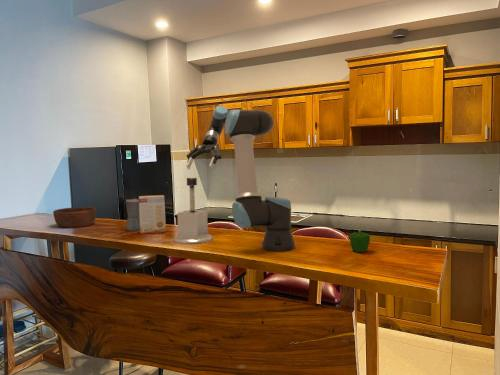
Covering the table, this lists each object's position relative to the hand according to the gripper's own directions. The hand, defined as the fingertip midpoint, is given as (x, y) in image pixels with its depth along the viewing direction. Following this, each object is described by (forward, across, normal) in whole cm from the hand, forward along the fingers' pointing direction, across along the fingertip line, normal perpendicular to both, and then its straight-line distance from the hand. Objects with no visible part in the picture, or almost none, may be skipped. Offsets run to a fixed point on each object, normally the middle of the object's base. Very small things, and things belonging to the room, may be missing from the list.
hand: (199, 167), depth 195 cm
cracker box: (+26, +31, -26) cm, 48 cm away
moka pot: (+23, +47, -29) cm, 60 cm away
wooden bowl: (+22, +93, -30) cm, 100 cm away
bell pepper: (+32, -83, -20) cm, 91 cm away
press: (+32, -1, -19) cm, 38 cm away
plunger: (+25, -1, -12) cm, 28 cm away
